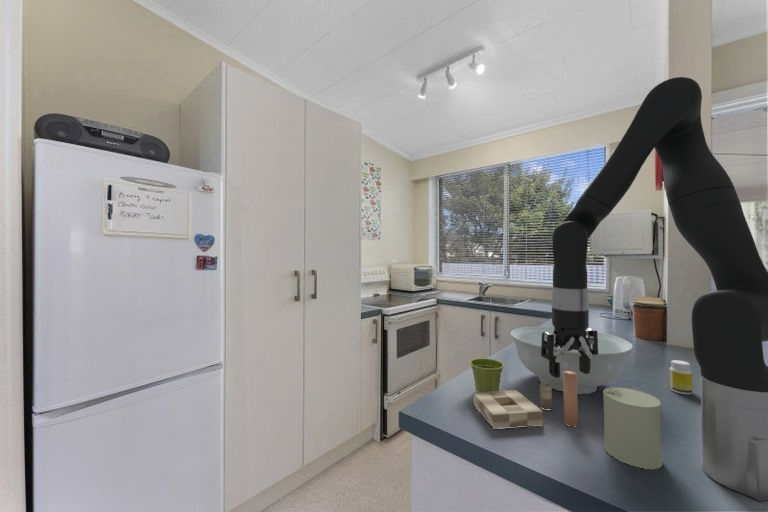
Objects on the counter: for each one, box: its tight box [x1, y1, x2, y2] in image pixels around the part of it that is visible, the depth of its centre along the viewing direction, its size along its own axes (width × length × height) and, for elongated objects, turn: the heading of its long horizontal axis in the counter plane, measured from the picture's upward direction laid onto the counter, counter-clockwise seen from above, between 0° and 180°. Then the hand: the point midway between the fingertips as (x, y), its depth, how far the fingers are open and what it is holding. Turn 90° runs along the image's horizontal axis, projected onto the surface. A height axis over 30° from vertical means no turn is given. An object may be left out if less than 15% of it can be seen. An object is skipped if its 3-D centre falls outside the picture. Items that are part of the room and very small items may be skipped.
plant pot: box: [469, 357, 505, 392], centre depth 92 cm, size 9×9×9 cm
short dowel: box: [539, 382, 553, 410], centre depth 82 cm, size 3×3×6 cm
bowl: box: [509, 326, 634, 395], centre depth 98 cm, size 32×32×15 cm
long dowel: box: [563, 371, 579, 427], centre depth 74 cm, size 3×3×12 cm
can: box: [602, 386, 664, 470], centre depth 63 cm, size 9×9×12 cm
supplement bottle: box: [669, 359, 693, 395], centre depth 91 cm, size 5×5×8 cm
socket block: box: [472, 389, 544, 428], centre depth 79 cm, size 12×12×4 cm
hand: (570, 374), depth 75 cm, fingers open, 8 cm apart
